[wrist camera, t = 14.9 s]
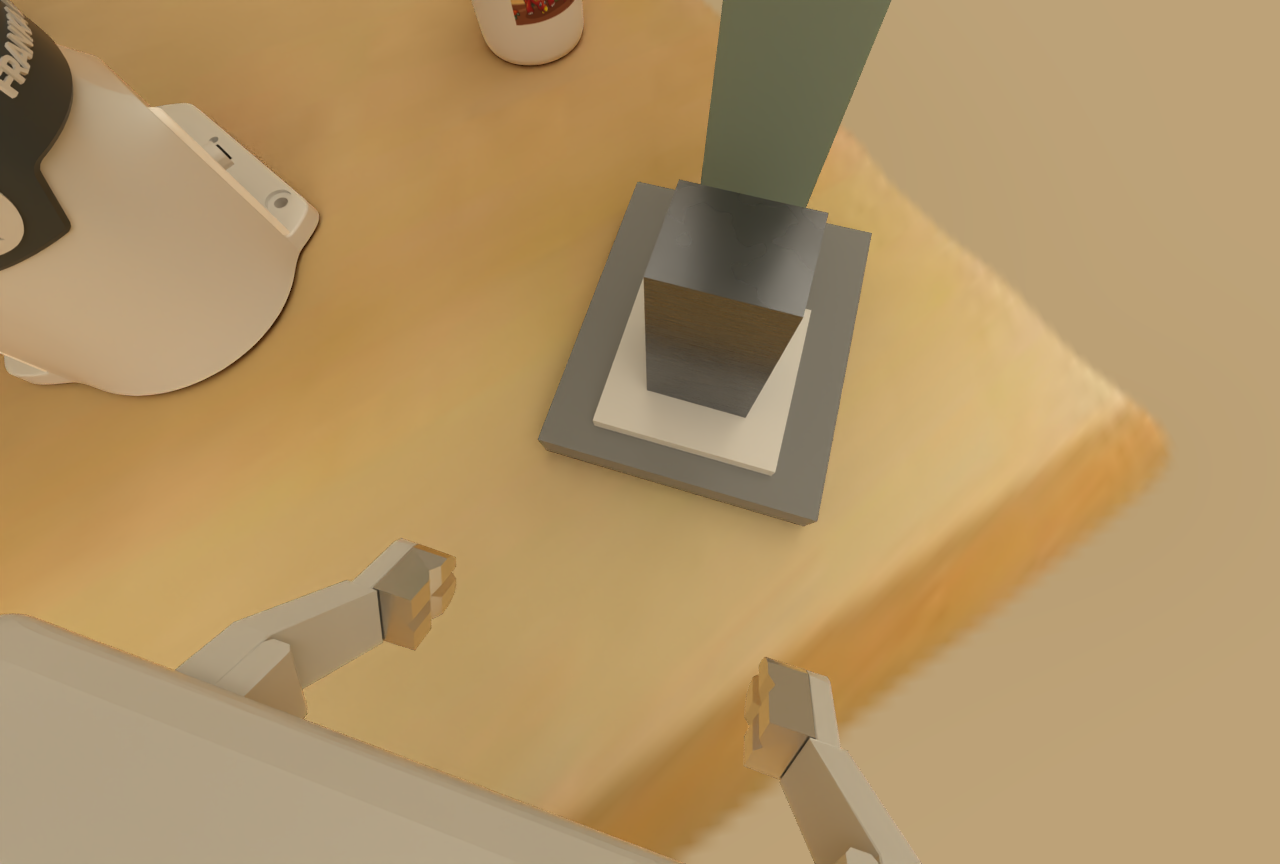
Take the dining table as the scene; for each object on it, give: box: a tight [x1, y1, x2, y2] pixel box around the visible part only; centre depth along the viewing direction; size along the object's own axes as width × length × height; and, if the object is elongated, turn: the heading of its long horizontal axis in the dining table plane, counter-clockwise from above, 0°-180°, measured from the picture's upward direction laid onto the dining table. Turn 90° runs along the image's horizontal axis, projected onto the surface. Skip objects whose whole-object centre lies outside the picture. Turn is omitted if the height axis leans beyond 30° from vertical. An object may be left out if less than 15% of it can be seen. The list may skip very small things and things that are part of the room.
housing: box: [644, 180, 828, 418], centre depth 19 cm, size 5×4×9 cm
